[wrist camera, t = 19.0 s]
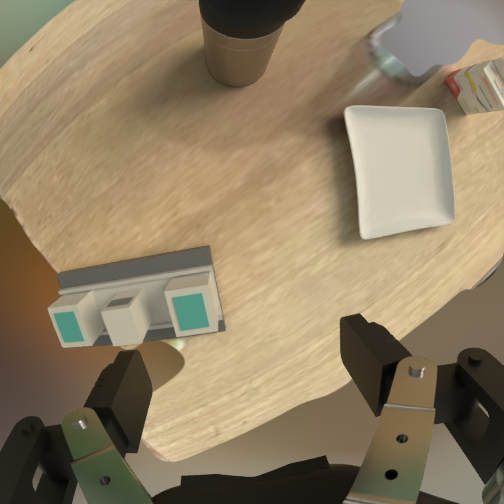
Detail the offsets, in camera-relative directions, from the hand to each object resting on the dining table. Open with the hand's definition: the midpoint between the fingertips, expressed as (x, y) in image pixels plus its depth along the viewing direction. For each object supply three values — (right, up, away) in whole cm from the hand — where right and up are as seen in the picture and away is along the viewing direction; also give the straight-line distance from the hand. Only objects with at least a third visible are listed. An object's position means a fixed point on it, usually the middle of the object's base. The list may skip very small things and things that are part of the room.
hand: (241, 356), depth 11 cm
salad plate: (+26, +18, +36) cm, 48 cm away
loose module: (-18, -4, +34) cm, 39 cm away
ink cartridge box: (+42, +36, +33) cm, 64 cm away
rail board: (-18, -4, +36) cm, 41 cm away
